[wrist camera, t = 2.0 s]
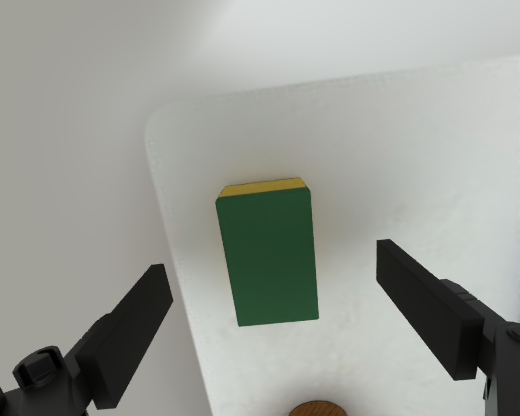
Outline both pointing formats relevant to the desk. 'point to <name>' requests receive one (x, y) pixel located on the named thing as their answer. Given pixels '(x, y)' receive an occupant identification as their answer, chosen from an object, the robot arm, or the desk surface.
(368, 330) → the desk surface
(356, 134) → the desk surface
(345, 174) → the desk surface
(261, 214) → the sponge
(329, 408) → the disposable coffee cup
